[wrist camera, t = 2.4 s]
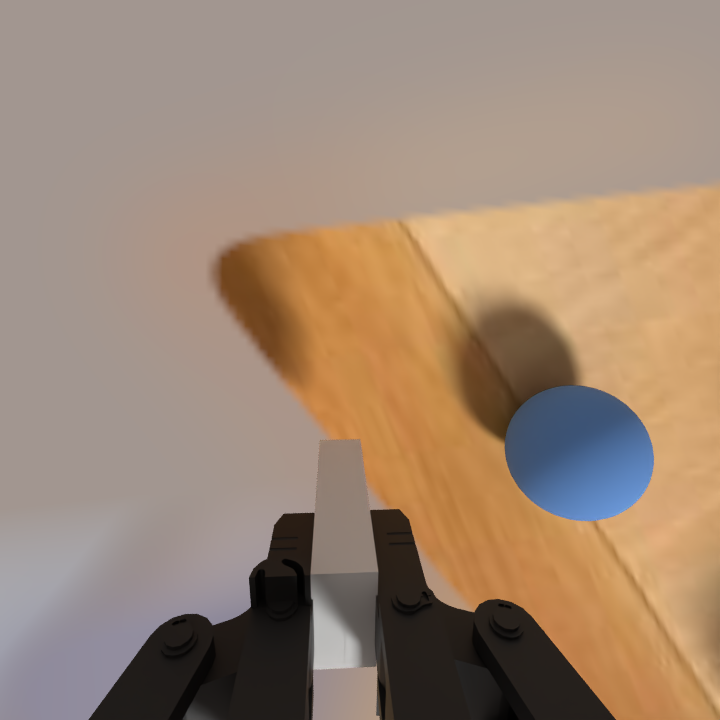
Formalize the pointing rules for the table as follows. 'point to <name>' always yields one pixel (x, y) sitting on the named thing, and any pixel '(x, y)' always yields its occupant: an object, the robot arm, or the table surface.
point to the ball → (579, 453)
